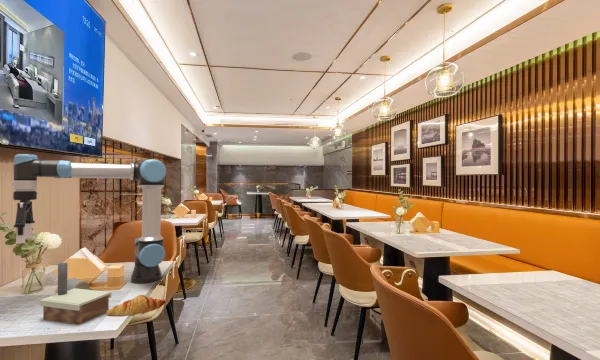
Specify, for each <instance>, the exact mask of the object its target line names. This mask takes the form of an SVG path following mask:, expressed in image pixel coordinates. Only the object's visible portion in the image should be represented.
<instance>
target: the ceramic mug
mask: <svg viewBox="0 0 600 360" xmlns="http://www.w3.org/2000/svg"><path fill="white" fill-rule="evenodd" d="M74 288H77V289H86V290H93V288H92V287H90V284H89V282H88V281H86V280H83V279H80V278H75V277H71V278H69V279H67V291H68V290H71V289H74Z"/></svg>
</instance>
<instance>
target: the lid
mask: <svg viewBox="0 0 600 360" xmlns="http://www.w3.org/2000/svg"><path fill="white" fill-rule="evenodd" d="M68 265H69V264H68V262H61V263H58V264H57V293H56V294H54V295H49V296H48V297H44V298H41V299H40V300H39V301H40V302H39V306H41V307H44V306H47V307H54V308H61V309H69V310H76V311H79V310H80V306H82V305H84V304H87V303H89V302H92V301H95V300H97V299H100V298H102V297H105V296H107V295H109V299H110V298H112V292H110V291H101V290H93V289H92V290H86V289H77V288H74V289H71V290H68V291H67V280H68Z"/></svg>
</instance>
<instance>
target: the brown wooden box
mask: <svg viewBox="0 0 600 360" xmlns="http://www.w3.org/2000/svg"><path fill="white" fill-rule="evenodd" d="M109 299H110V298H109V295H107V296H105V297H102V298H100V299H97V300H95V301H92V302H89V303H87V304H84V305H82V306H80V310H79V311H76V310H69V309H61V308H54V307H47V306H43V307H42V308H43V309H42V310H43V312H42V313H43V314H42V315H43V317H42V318H43V320H47V321H55V322H60V323H61V322H63V323H67V324H68V323H69V324H74V325H82V324H85V323H86V322H88V321H90V320H93V319H95V318H97V317H100V316H103V315H104V314H105V313H106V314H107V310H110V309H109V307H110V305H109V303H110V302H109V301H110V300H109Z"/></svg>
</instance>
